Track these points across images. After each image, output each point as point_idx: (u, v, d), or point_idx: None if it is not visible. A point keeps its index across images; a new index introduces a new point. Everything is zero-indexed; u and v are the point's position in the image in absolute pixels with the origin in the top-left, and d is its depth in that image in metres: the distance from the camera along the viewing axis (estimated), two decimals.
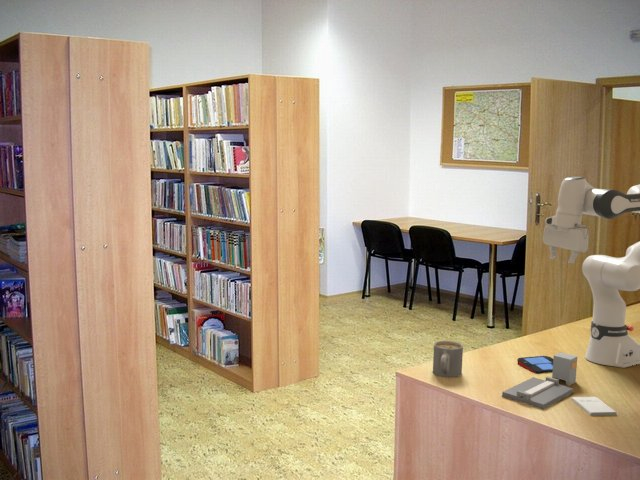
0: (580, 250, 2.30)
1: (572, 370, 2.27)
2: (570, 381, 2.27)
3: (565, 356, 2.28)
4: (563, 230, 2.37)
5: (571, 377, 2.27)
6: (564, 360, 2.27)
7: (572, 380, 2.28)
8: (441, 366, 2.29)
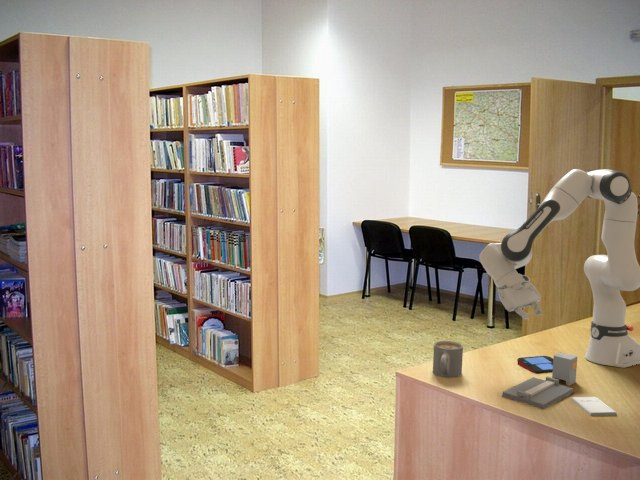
0: (508, 310, 2.32)
1: (572, 370, 2.27)
2: (570, 381, 2.27)
3: (565, 356, 2.28)
4: None
5: (571, 377, 2.27)
6: (564, 360, 2.27)
7: (572, 380, 2.28)
8: (441, 366, 2.29)
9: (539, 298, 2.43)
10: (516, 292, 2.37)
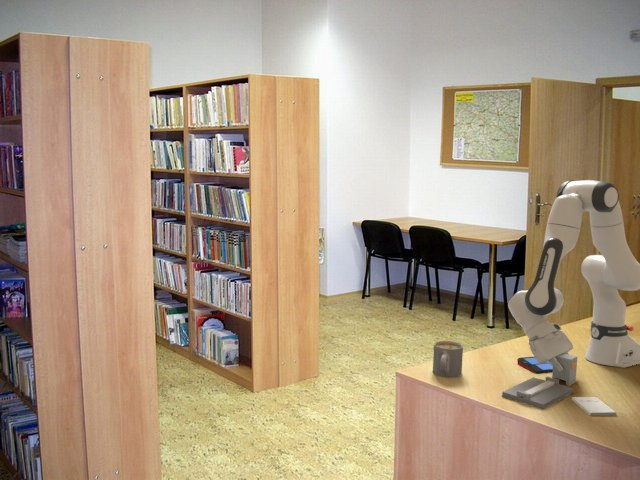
0: (540, 362, 2.25)
1: (572, 370, 2.27)
2: (570, 381, 2.27)
3: (565, 356, 2.28)
4: None
5: (571, 377, 2.27)
6: (564, 360, 2.27)
7: (572, 380, 2.28)
8: (441, 366, 2.29)
9: (571, 347, 2.36)
10: (547, 343, 2.30)
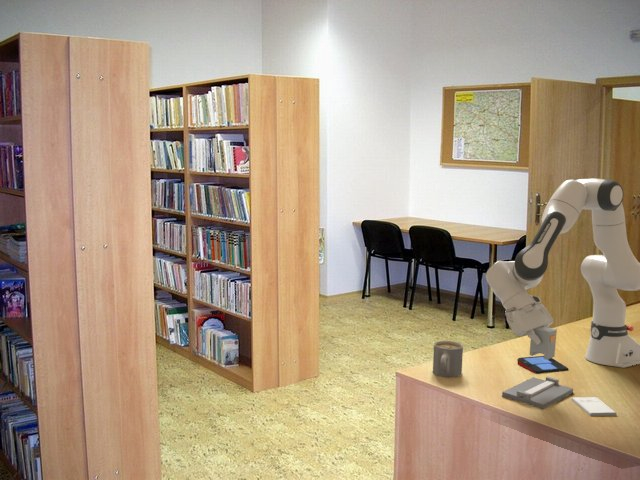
0: (517, 335, 2.12)
1: (551, 343, 2.14)
2: (548, 355, 2.14)
3: (544, 329, 2.16)
4: None
5: (549, 351, 2.14)
6: (542, 332, 2.14)
7: (550, 354, 2.15)
8: (441, 366, 2.29)
9: (551, 321, 2.23)
10: (525, 315, 2.17)
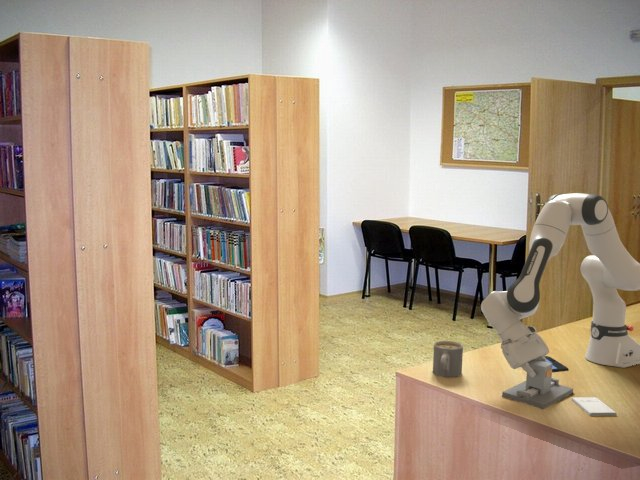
0: (513, 367, 2.12)
1: (547, 378, 2.14)
2: (544, 390, 2.14)
3: (539, 363, 2.16)
4: None
5: (546, 385, 2.15)
6: (538, 367, 2.14)
7: (546, 388, 2.15)
8: (441, 366, 2.29)
9: (547, 351, 2.23)
10: (521, 346, 2.17)
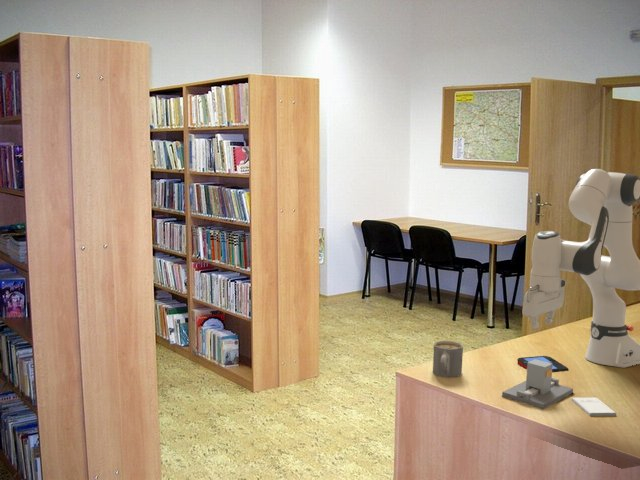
0: (523, 314, 2.08)
1: (547, 378, 2.14)
2: (544, 390, 2.14)
3: (539, 363, 2.16)
4: None
5: (546, 385, 2.15)
6: (538, 367, 2.14)
7: (546, 388, 2.15)
8: (441, 366, 2.29)
9: (560, 306, 2.18)
10: (543, 298, 2.10)
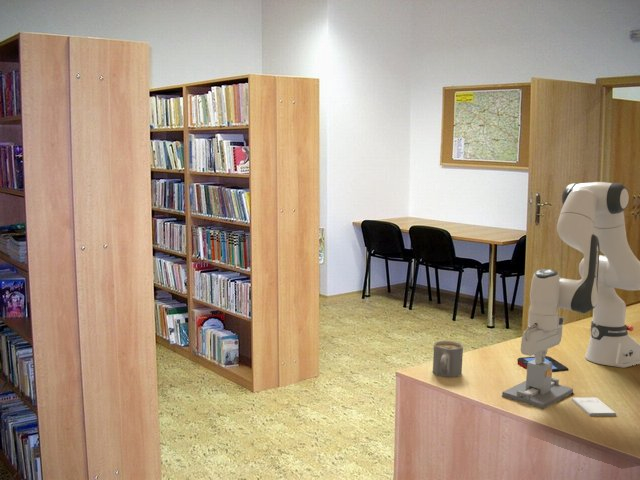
0: (522, 352, 2.09)
1: (547, 378, 2.14)
2: (544, 390, 2.14)
3: None
4: None
5: (546, 385, 2.15)
6: (538, 367, 2.14)
7: (546, 388, 2.15)
8: (441, 366, 2.29)
9: (558, 343, 2.20)
10: (541, 336, 2.12)
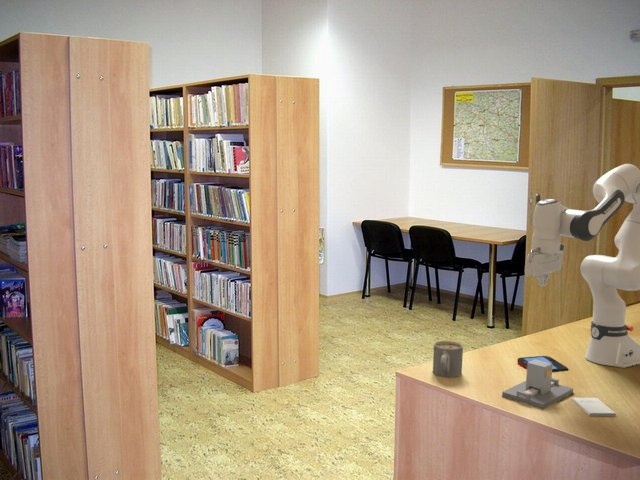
0: (526, 274, 2.28)
1: (547, 378, 2.14)
2: (544, 390, 2.14)
3: (539, 363, 2.16)
4: None
5: (546, 385, 2.15)
6: (538, 367, 2.14)
7: (546, 388, 2.15)
8: (441, 366, 2.29)
9: (559, 269, 2.38)
10: (544, 259, 2.30)
